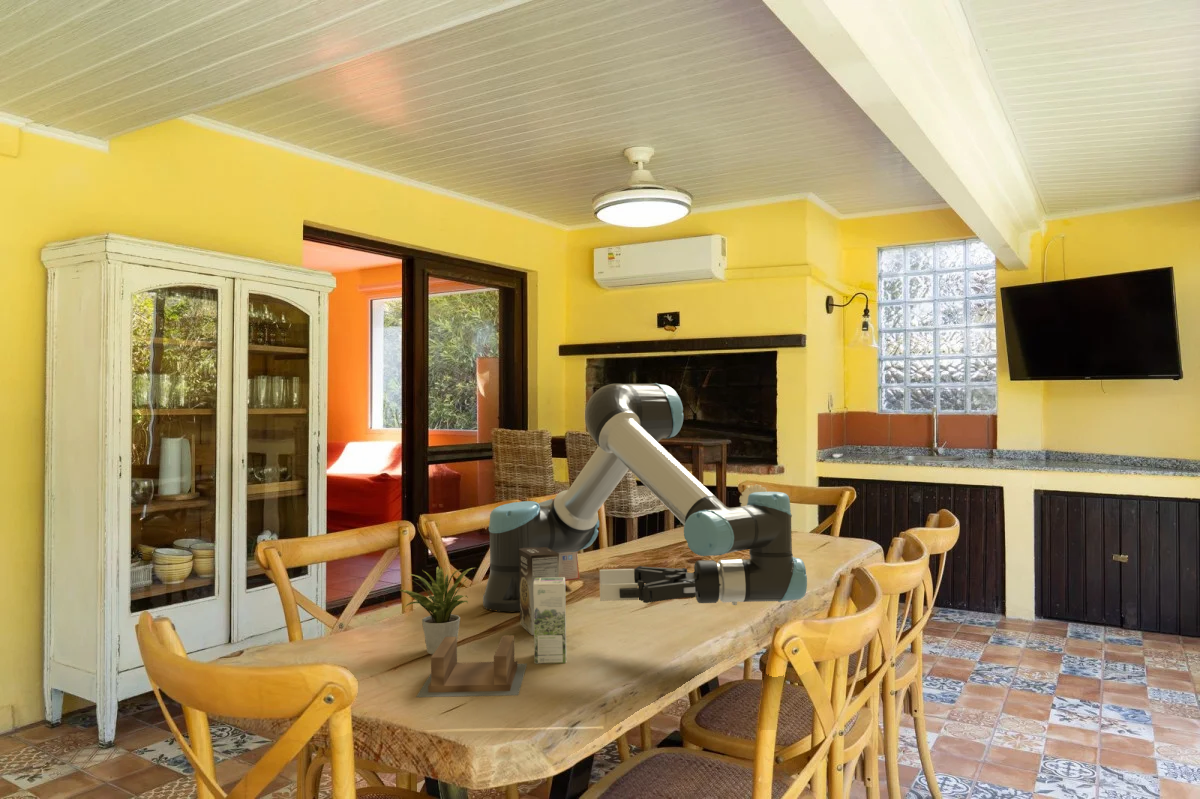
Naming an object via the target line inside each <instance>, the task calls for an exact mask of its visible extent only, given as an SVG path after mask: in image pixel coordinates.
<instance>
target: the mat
mask: <svg viewBox="0 0 1200 799" xmlns="http://www.w3.org/2000/svg"><path fill="white" fill-rule="evenodd" d="M527 665H528V663H517V670H516V673H515V677H514V680H513V683H512V686H511V689H510V691H474V692H428V686H429V684H430V682H431V673H430V675H429V676H428V678H427V679H426V681H425V682H424V684H422V685H423V686H422V687H421V688H420V690H419V692H418V693H417V695H416V696H415V698H441V697H443V698H444V697H445V698H446V697H448V698H449V697H496V696H497V697H498V696H499V697H500V696H501V697H502V696H504V697H506V696H519V693H520V690H521V687H522V683H523V680H524V675H525V672H526V669H527Z"/></svg>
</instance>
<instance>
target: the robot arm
mask: <svg viewBox="0 0 1200 799" xmlns="http://www.w3.org/2000/svg"><path fill="white" fill-rule="evenodd" d="M585 406H586V407H585V410H584V420H585V421H584V422H585V426H586V429H587V431H588V434H589V436H590V437H591V439H592V440H593V441H594V442H595V443H596V445H598V446H597V448H596V450H594V452H593V453H592V455H591V457H590V458H589V459H588V461H587V463H585V465H584V467H583V468H582V469H581V471H580V472H579V474H578V475H577V476H576V478H575V479H574V481H573V482H572V484H571V486H570V487H569V488H568V489H565V490H562V491H559V493H557V494H556V496H555V497H554V498H555V499H554V500H553V501H552V503H551V504H550V505H548V506H539V504H538V503H539V502H538V501H537V502H536V501H534V500H533V501H531V500H526V501H524V500H522V501H519V502H517V501H514V502H510V503H509V502H508V503H505V504H501V505H499V506H497V507H495V508H493V510H491V512H490V513H489V523H488V531H489V571H490V572H489V576H488V580H487V582H486V587H485V591H484V594H483V596H482V606H484V607H485V608H484V607H483V608H484V609H486V608H487V609H486V610H488V609H491V610H490V611H492V610H497V611H496V612H500V611H520V582H519V549H520V548H533V547H538V548H540V547H547V548H549V549H551V550H553V551H555V552H557V553H564V552H576V551H577V552H579V551H582V550H585V549H587V548H589V547H590V546H591V545H592V544H593V543H594V542H595V541H596V539H597V537H598V535H599V530H598V528H600V520H599V512H598V511H599V510H600V508H601V507H602V506H603V505H604V504H605V502H606V500H608V498H609V497H610V496H611V494H612V493H613V491H614V490H615V489H616V488H617V486H618V485H619V483H620V482H621V481H622V479H623V478H624V477H625V475H627V473H628V472H629V471H630V472H631V473H632V474H634V476H635V478H637V479H638V480H639V481H640V482H641V483H642V484H643V486H645V487H646V488H647V490H649V491H650V493H652V494H653V495H654V496H655V497H656V498H657V499H658V501H660V502H661V503H662V504H663V505H664V506H665V508H667V509H668V510H669V512H671V513H672V514H673V515H674V516H675V518H677V519H678V521H680V523H681V524H682V525H683V536H684V539H685V541H686V543H687V547H688V548H689V550H690V551H691V552H692V553H694V554H696V555H697V556H703V557H710V556H714V557H715V556H716V557H717V556H722V555H725V554H730V553H735V552H739V551H749V552H748V553H749V558H747V559H746V558H745V559H742V558H738V559H736V558H733V559H719V560H718V562H716V561H715V559H714V560H713V559H712V560H710V559H709V560H697V561H695V563H694V568H693V570H694V571H693V572H688V568H685V567H683V568H671V567H657V566H642V565H639V566H637V567H636V568H615V569H599V601H600V602H608V601H611V602H612V601H638V600H639V601H641V602H643V603H644V604H649V603H655V602H662V601H669V600H677V599H683V598H691V599H692V598H693V599H694V598H695V599H696V602H697V603H699V604H717V602H719V600H720V602H722V603H731V605H732V606H737V605H738V602H739V603H745V602H746V603H748V602H750V603H751V602H757V603H758V602H761V603H762V602H778V603H781V602H787V601H788V602H789V601H797V600H801V599H803V598H804V597H805V595H806V594H807V590H808V575H807V569H806V568H807V567H806V566H805V563H804V561H803V559H801V558H799V557H796V556H793V542H792V540H793V539H792V538H793V537H792V516H793V515H792V512H791V511H792V510H791V501H790V496H789V495H788V494H787V493H786V492H781V491H767V492H754V493H751V494H750V495H749V496H748V503H747V506H741V505H740V506H736V507H734V506H733V507H729V506H726V505H725V503H723V502H722V501H721V499H719V498H717V496H715V494H713V493H712V491H710V490H709V489H708V487H706V486H705V485H704V484H703V483H702V482H701V481H700V480H698V479H697V477H696V476H694V475H693V474H692V473H691V472H690V471H689V470H688V469H687V468H686V467H685V466H684V465H682V463H680V461H679V460H677V459H676V458H675V457H674V456H673V455H672V453H670V452H669V451H668V450H667V449H666V448H665V447H664V446H662V444H661V443H659V442H660V441H661V440H663V439H667V440H668V439H670V438H673V437H675V436H677V435H678V433H680V431H681V428H682V426H683V422H684V412H683V411H684V407H683V403H682V400H681V397H680V396H679V395H678V393H677V391H676V390H675V389H674V388H672V387H671V386H669V385H667V384H660V383H657V382H655V383H611V384H610V383H609V384H607V385H604V386H601V387H600V388H599V389H597V390H596V391H595V392H594V393H593V394H592V395H591V396H590V397H589V400H588V401H587V403H586V405H585Z"/></svg>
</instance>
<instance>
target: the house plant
mask: <svg viewBox="0 0 1200 799" xmlns="http://www.w3.org/2000/svg"><path fill="white" fill-rule="evenodd" d="M476 568H477V567H471V568H467V569H465V570H463V569H458V570H456V571H454V572H453V573H452V575H451V576H450V577H449V573H446V574H445V575H444V569H443V567H442V566H440V567H439V566H437V567H436V572H435V573H436V575H435V576H436V578H435V580H434V578H433V577H432V576H431V575H430V574H429V573H428V572H426V571H425V570H423V573H425V574H426V575H427V576H428V577H429V579H430V580H431V584H430V582H429V581H427V580H426V579H425V578H424V577H422V576H420V575H417V574H412V573H409V575H410V576H413V577H416V580H418V581H420V582H421V583H422V584H423V586H424V587H425V588H426V589H425V588H424V587H423V586H422V585H421V584H419V583H418V582H416V581H414V580H413V582H414V583H416V584H417V585H419V586H420V587H421V588H422V589H423V590H424V591H425V592H426V593H427V595H428V597H427V596H425V595H423V594H420V593H418V592H415V591H412V590H408V589H399V591H400V592H402V593H405V594H407V596H409V598H413V599H415V600H416V601H410V602H409V603H407V604H406V605H405V607H404V608H406V607H408V606H410V605H412V604H413V605H414V604H419V605H420V606H421V607H423V609H425V611H426V612H427V613H429V614H430V615H428V616H425V617H423V618H422V619H421V624H422V629H423V635H424V640H425V646H426V652H427V653H428V654H430V655H433V654H434V652H435V651H436V649H437V648H438V647H439V645H440V644H441V642H442V641H443V639H444V638H445V637H457V638H458V636H459V635H458V634H459V631H460V630H459V629H460V624H461V623H460V622H461V617H460V616H459V615H458V614H452V613H453V611H454V610H455V608H456V607H458V606H460V605H461V604H463V603H467V604H469V603H468V602H469V601H468V600H460V599H461V598H464V597H466V598H467V599H469V596H468V595H463V594H462V595H460V594H458V595H457V593H458V592H459V590H460V589H461V587H462V586H463V584H464V583H466V581H467V580H468V579H470V576H469V577H467V578H466V579H465V580H464V581H463V582H462V583H461V585H460V586H459V587H458V585H459V584H460V582H461V581H462V579H463V578H464V576H465V575H466V574H468V572H470V571H471V570H473V569H476ZM462 570H463V571H462ZM459 571H462V573H460V575H458V577H457V578H456V579H455V581H454V583H453V585H452V586H451V587H450V589H449V590H448V588H449V586H450V582H451V581H452V578H453V577H454V575H455V574H456V573H457V572H459ZM417 578H418V579H417ZM407 580H410V578H409V579H408V578H407ZM457 587H458V588H457ZM430 591H431V592H430ZM431 593H432V594H433V595H432V594H431Z"/></svg>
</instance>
